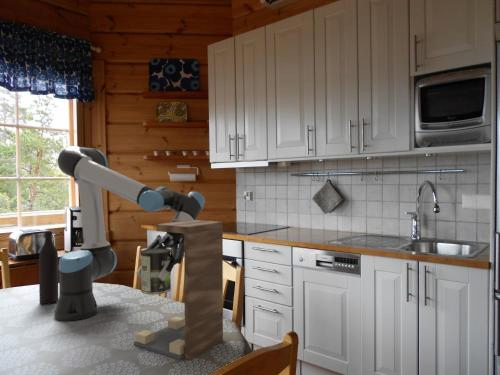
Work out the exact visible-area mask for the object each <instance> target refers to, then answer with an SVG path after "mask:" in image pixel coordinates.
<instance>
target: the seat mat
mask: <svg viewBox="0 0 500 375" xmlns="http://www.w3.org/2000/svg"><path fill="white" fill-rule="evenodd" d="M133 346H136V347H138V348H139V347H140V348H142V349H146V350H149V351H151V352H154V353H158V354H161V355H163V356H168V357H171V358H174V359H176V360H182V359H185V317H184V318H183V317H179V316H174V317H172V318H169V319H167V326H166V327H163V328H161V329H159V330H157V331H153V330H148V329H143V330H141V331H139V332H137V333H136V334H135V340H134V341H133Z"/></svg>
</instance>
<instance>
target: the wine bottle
mask: <svg viewBox="0 0 500 375" xmlns="http://www.w3.org/2000/svg"><path fill="white" fill-rule="evenodd" d="M44 237H45V239H44V243H43V246H42V247H41V249H40V251H39V258H38V261H39V262H38V266H39V269H38V271H39V272H38V273H39V274H38V275H39V277H38V278H39V279H38V280H39V281H38V282H39V283H38V284H39V287H38V288H39V304H41V305H52V304H55V303H56V304H57V302H58V299H59V254H58V250H57V248H56V246H55V245H54V241H53V231H52V230H45V231H44Z"/></svg>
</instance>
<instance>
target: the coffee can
mask: <svg viewBox="0 0 500 375" xmlns="http://www.w3.org/2000/svg"><path fill="white" fill-rule="evenodd" d="M139 252H140V253H139V254H140V264H141V277H140V282H141V283H140V285H141V287H140V288H141V290H140V291H141V293H142V294H144V295H162V294H167V293H170V291H171V289H172V288H171V287H172V286H171V285H172V284H171V272H169V273H168V275H167V277H166V279H165V280H164V281H162V280H161V279H160V278H159V277H158V276H159V274H160V273H161V271H162V269H163V268H164V266H165V264H166V262H167V261H170V260H169V259H170V253H171V248H170V249H169V248H166V249H164V248H155V249H147V248H146V249H142V250H141V251H139Z"/></svg>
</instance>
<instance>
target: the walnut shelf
mask: <svg viewBox="0 0 500 375" xmlns="http://www.w3.org/2000/svg"><path fill="white" fill-rule="evenodd" d="M155 226H156V228H155V229H156V232H164V233H167V232H173V233H183V234H184V255H183V259H184V261H183V262H184V263H183V264H184V268H183V269H184V270H183V271H184V273H183V274H184V278H183V279H184V281H183V282H184V284H183V285H184V288H183V289H184V325H185V357H184V359H186V360H192V359H194V358H196V357H197V356H199V355H200V354H203V353H205V352H206V351H207V350H209V349H210V348H212V347H214V346H216V345H218V344H219V343H220V342H223V340H224V322H223V321H224V320H223V319H224V304H223V303H224V302H223V301H224V295H223V294H224V285H223V284H224V279H223V278H224V276H223V275H224V269H223V268H224V267H223V266H224V263H223V262H224V261H223V258H224V257H223V256H224V254H223V253H224V252H223V249H224V248H223V241H224V240H223V237H224V234H223V232H224V231H223V228H224V227H223V221H218V220H217V221H216V220H215V221H214V220H204V219H203V220H199V219H196V220H185V221H178V222H172V221H170V222H164V223H158V224H156V225H155Z"/></svg>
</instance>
